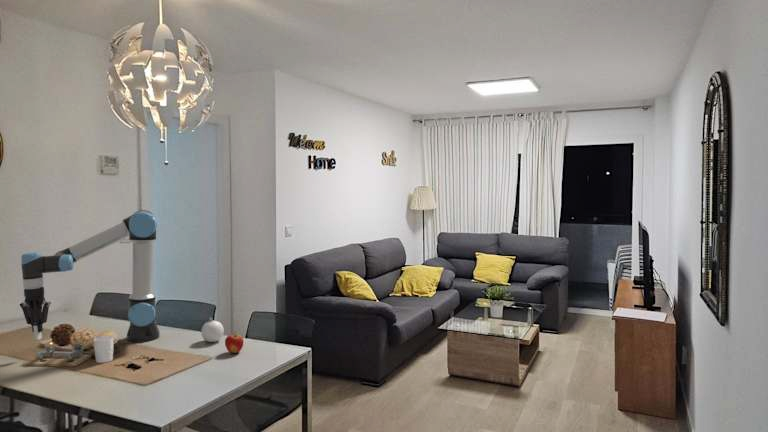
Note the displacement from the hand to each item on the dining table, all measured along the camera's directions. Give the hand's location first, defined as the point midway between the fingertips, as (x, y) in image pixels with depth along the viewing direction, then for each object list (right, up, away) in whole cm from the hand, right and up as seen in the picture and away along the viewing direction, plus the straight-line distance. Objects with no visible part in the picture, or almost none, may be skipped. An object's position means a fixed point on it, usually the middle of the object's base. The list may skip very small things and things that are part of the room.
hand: (38, 339), depth 241 cm
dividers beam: (+10, -8, -3) cm, 13 cm away
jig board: (+11, -9, -4) cm, 15 cm away
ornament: (+70, -7, +24) cm, 75 cm away
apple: (+86, -8, +8) cm, 86 cm away
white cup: (+31, -9, -3) cm, 33 cm away
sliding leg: (+5, -8, -3) cm, 10 cm away
